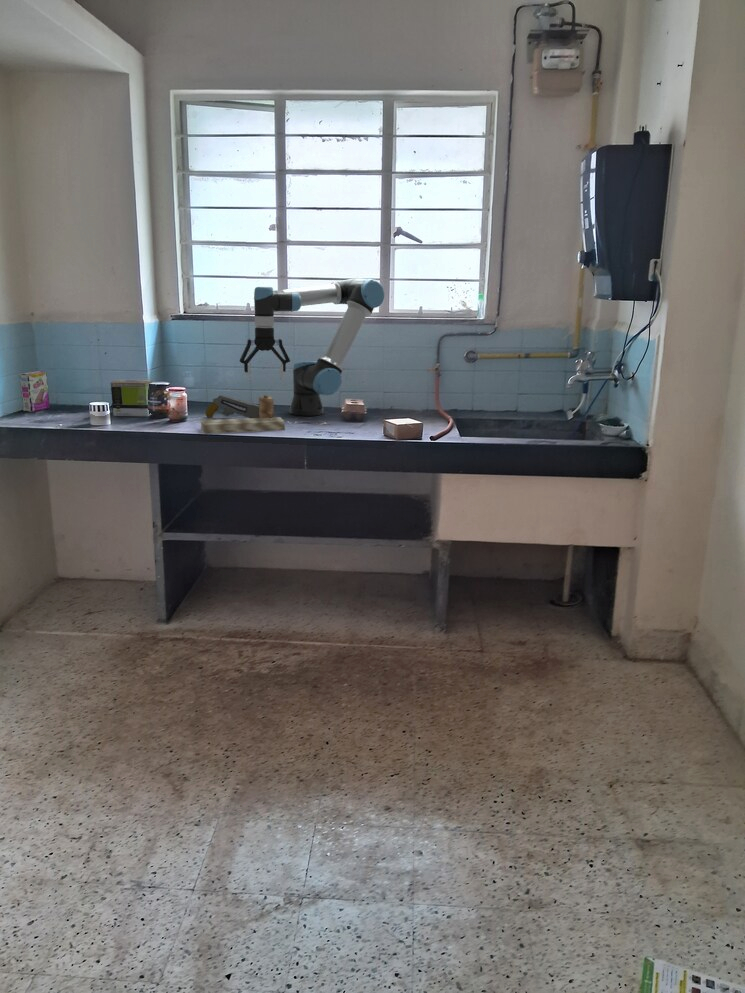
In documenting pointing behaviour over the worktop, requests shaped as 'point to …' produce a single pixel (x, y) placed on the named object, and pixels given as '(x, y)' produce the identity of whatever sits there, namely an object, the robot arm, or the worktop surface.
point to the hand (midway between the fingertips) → (265, 380)
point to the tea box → (130, 397)
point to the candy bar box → (34, 391)
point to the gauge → (266, 407)
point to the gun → (232, 407)
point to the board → (242, 425)
